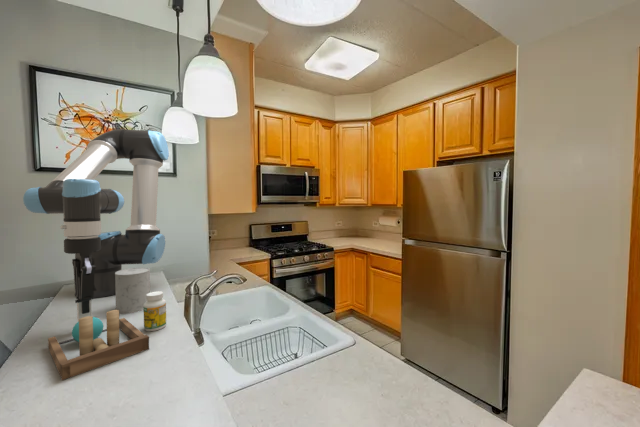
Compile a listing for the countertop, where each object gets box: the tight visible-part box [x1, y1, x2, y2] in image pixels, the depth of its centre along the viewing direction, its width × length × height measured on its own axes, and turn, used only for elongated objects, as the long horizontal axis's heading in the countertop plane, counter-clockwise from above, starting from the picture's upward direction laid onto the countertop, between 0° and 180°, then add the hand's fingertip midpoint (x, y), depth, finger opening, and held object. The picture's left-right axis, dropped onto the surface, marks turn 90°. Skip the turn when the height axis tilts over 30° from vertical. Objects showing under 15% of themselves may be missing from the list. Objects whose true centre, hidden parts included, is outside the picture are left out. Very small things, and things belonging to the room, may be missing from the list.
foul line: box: [58, 328, 107, 345], centre depth 71 cm, size 1×13×1 cm, turn 141°
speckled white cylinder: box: [115, 267, 151, 315], centre depth 90 cm, size 10×10×12 cm
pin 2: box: [105, 309, 120, 347], centre depth 66 cm, size 2×2×8 cm
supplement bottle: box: [143, 290, 167, 332], centre depth 76 cm, size 5×5×10 cm
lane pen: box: [47, 317, 150, 381], centre depth 65 cm, size 18×15×3 cm
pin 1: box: [78, 315, 94, 356], centre depth 62 cm, size 2×2×8 cm
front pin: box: [93, 337, 109, 352], centre depth 63 cm, size 2×2×8 cm
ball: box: [71, 316, 104, 343], centre depth 68 cm, size 6×6×6 cm
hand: (84, 323), depth 74 cm, fingers closed
